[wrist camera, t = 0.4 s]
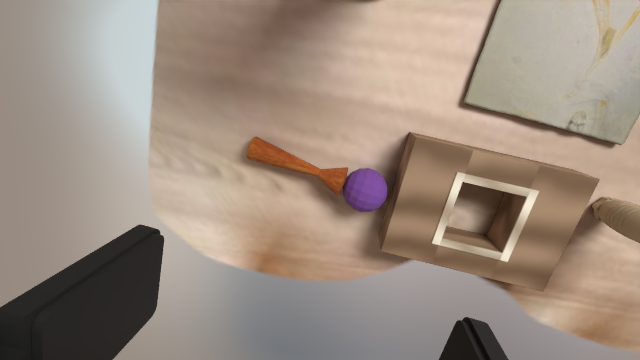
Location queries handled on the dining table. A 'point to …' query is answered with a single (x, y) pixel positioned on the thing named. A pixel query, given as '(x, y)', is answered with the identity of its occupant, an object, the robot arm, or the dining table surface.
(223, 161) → the dining table surface
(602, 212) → the handle
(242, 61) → the dining table surface
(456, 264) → the brown flat block
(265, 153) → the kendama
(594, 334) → the dining table surface
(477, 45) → the dining table surface
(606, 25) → the decorative slab
